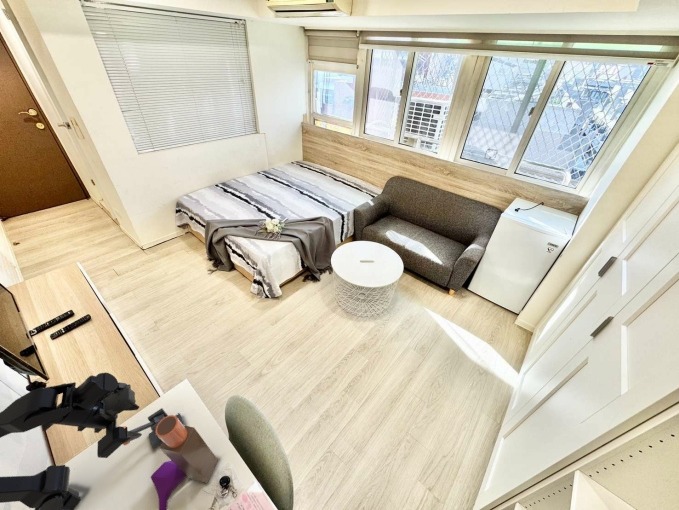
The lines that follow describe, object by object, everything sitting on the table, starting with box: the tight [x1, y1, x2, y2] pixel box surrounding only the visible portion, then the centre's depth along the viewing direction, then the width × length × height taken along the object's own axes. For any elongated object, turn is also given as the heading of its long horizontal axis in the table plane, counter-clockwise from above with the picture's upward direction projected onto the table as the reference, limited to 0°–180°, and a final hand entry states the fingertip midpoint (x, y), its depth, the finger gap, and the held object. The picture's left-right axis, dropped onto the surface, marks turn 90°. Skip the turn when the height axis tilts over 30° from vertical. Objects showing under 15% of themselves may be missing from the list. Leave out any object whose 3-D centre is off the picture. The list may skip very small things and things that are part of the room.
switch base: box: [147, 407, 186, 450], centre depth 91 cm, size 10×6×10 cm, turn 134°
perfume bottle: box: [150, 459, 188, 510], centre depth 77 cm, size 8×8×18 cm
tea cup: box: [156, 414, 187, 448], centre depth 68 cm, size 5×5×7 cm
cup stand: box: [158, 424, 219, 484], centre depth 77 cm, size 6×6×24 cm
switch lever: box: [122, 414, 165, 446], centre depth 86 cm, size 11×6×2 cm, turn 132°
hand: (139, 421), depth 79 cm, fingers open, 9 cm apart
